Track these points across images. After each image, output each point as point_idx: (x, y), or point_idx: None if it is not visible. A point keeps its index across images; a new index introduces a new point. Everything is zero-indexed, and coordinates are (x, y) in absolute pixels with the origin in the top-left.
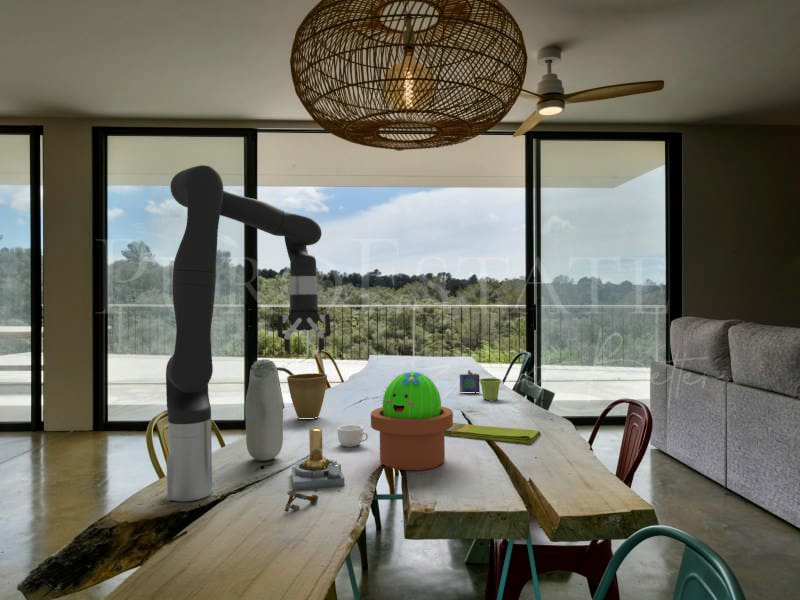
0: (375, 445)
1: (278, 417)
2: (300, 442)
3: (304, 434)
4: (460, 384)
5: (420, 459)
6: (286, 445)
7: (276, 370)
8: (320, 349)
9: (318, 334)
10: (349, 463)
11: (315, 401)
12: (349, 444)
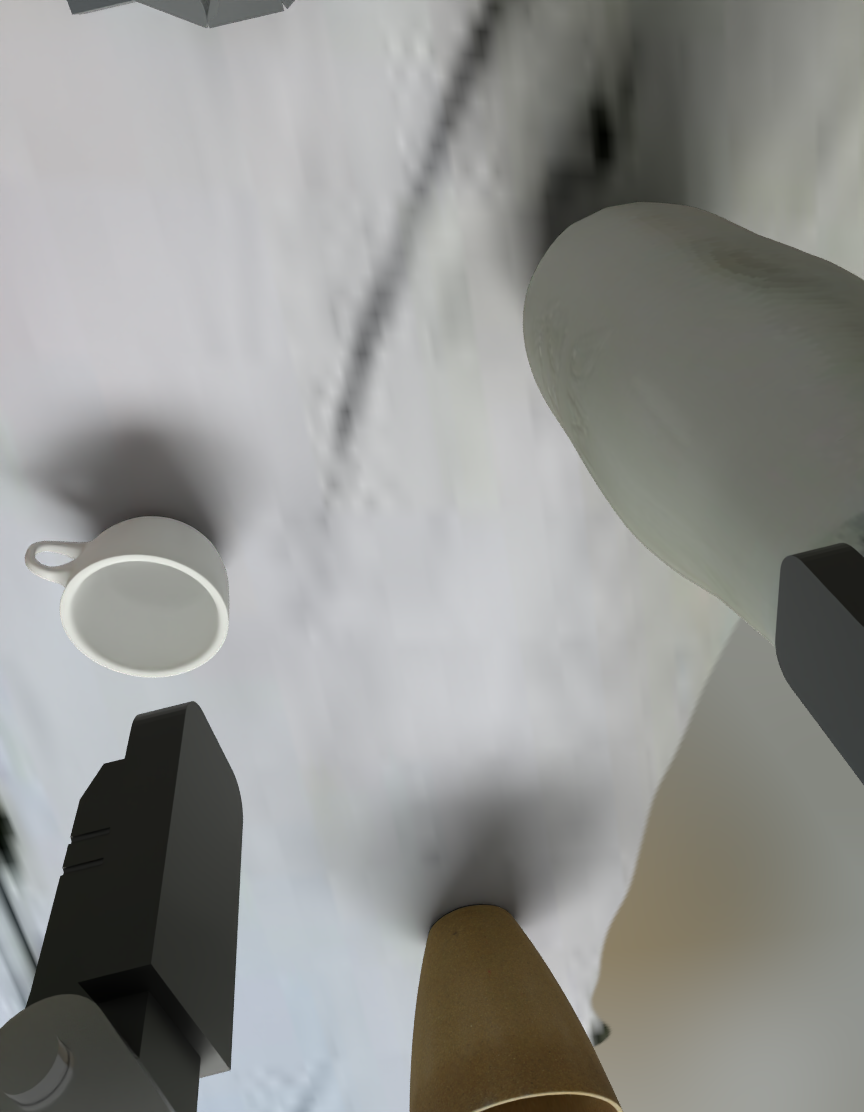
0: (6, 554)
1: (600, 317)
2: (449, 597)
3: (450, 719)
4: None
5: None
6: (514, 548)
7: None
8: (151, 738)
9: (138, 1106)
10: (56, 185)
11: (446, 989)
12: (148, 516)
